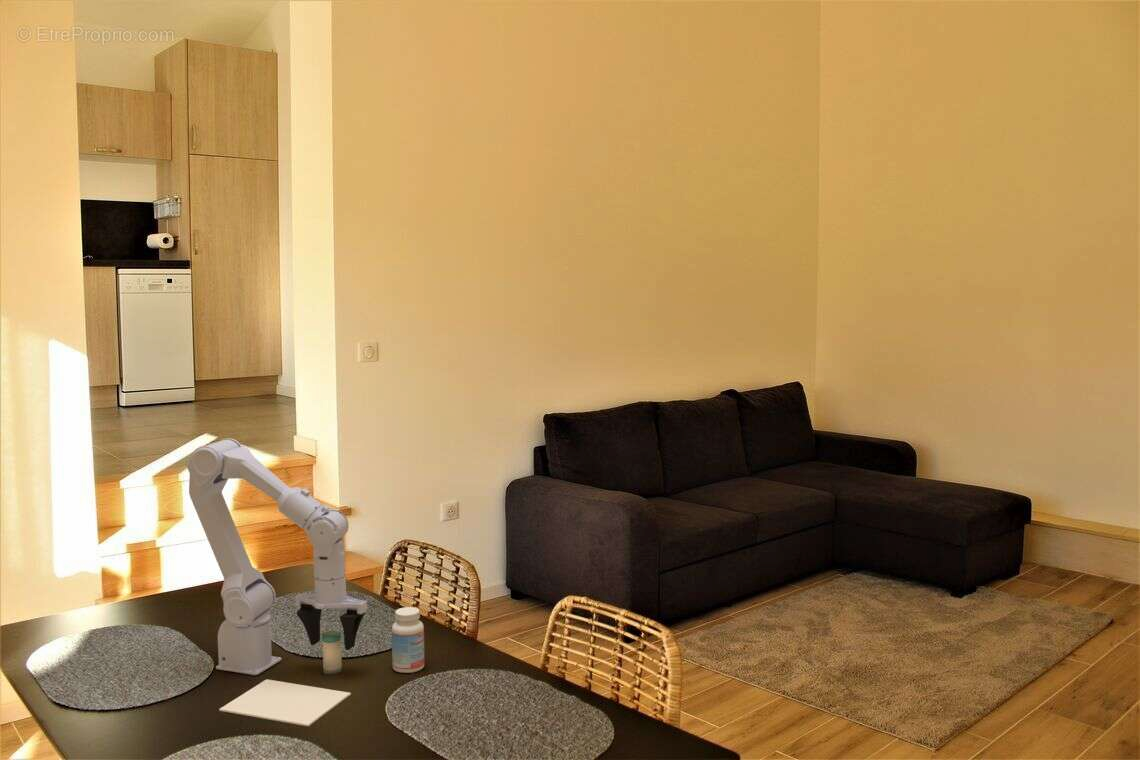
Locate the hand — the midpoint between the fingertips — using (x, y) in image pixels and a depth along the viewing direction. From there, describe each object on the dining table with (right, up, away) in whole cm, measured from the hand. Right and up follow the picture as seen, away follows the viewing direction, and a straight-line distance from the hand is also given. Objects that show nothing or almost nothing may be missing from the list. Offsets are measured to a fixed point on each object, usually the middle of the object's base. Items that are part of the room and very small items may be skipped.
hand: (332, 645), depth 180 cm
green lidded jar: (0, -5, +1) cm, 5 cm away
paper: (-5, -6, -13) cm, 15 cm away
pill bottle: (+14, -5, +2) cm, 15 cm away
